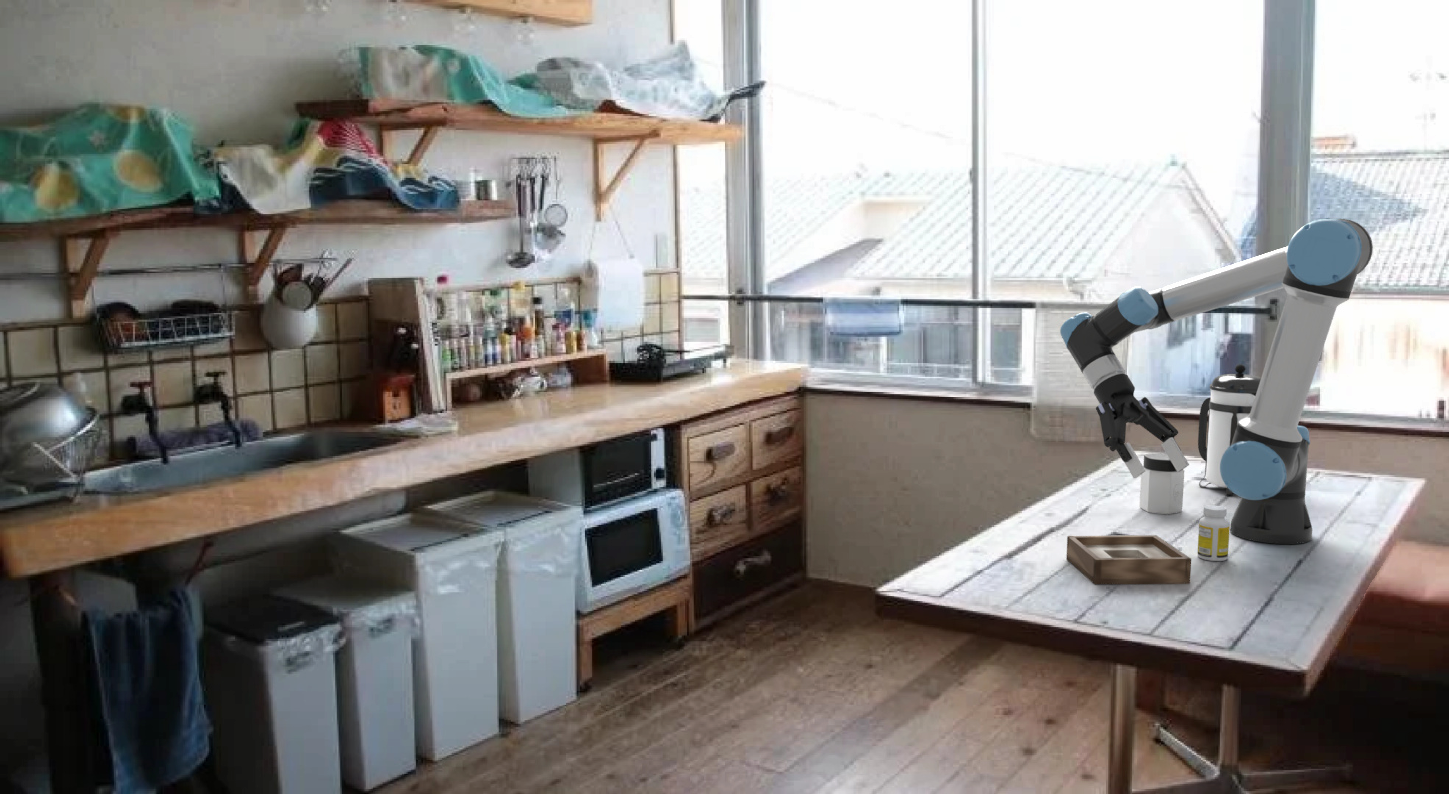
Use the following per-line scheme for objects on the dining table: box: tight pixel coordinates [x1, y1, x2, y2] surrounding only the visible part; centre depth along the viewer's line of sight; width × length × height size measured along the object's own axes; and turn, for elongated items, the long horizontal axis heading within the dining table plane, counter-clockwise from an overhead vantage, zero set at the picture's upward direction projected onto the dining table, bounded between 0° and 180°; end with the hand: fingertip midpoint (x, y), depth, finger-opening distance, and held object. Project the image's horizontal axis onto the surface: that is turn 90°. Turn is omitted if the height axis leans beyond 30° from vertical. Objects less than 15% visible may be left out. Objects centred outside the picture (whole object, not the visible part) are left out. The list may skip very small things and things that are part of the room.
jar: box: [1138, 452, 1185, 516], centre depth 268 cm, size 9×8×12 cm
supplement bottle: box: [1197, 504, 1231, 562], centre depth 231 cm, size 5×5×10 cm
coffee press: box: [1197, 363, 1261, 497], centre depth 288 cm, size 17×16×30 cm
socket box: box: [1065, 534, 1192, 586], centre depth 223 cm, size 17×16×4 cm
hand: (1162, 471), depth 239 cm, fingers open, 13 cm apart
